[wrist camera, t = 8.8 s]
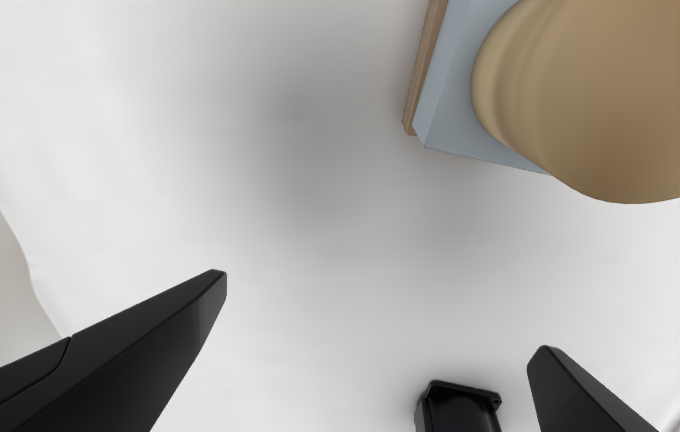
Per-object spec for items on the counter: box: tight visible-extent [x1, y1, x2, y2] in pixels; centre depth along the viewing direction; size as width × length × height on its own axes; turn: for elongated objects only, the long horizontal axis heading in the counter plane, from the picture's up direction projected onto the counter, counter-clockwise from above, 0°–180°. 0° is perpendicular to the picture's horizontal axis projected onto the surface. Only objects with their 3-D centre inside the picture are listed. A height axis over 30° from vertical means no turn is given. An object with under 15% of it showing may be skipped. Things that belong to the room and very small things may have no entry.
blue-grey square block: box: [412, 0, 552, 176], centre depth 11 cm, size 6×6×4 cm
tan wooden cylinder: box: [470, 0, 680, 204], centre depth 7 cm, size 5×5×4 cm
